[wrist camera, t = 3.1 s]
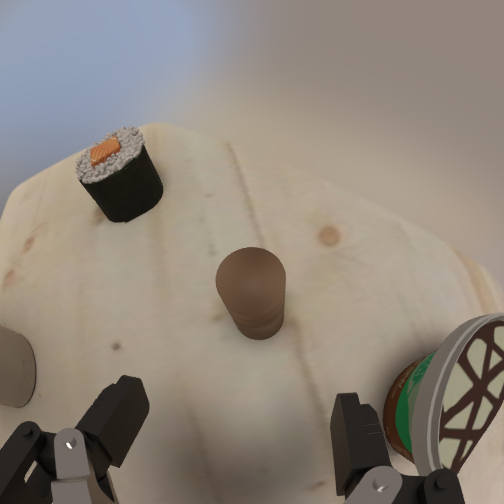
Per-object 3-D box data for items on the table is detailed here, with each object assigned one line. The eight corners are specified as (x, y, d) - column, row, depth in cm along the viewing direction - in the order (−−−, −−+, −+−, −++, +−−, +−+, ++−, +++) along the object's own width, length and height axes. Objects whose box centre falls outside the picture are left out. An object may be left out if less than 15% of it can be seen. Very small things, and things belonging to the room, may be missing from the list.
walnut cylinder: (233, 338, 22) (212, 310, 15) (237, 293, 24) (219, 247, 17) (282, 340, 22) (285, 312, 15) (283, 294, 24) (285, 247, 17)
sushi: (172, 197, 30) (148, 144, 23) (110, 234, 29) (73, 188, 22) (153, 161, 34) (132, 113, 27) (99, 192, 32) (70, 149, 25)
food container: (422, 316, 21) (486, 267, 12) (464, 353, 19) (537, 321, 10) (337, 429, 18) (381, 451, 9) (387, 467, 15) (449, 498, 6)
